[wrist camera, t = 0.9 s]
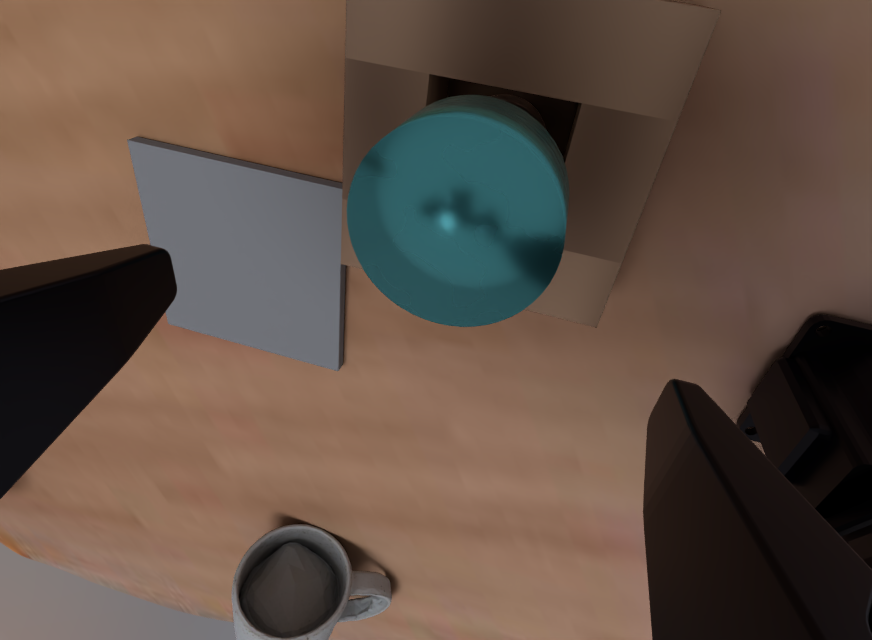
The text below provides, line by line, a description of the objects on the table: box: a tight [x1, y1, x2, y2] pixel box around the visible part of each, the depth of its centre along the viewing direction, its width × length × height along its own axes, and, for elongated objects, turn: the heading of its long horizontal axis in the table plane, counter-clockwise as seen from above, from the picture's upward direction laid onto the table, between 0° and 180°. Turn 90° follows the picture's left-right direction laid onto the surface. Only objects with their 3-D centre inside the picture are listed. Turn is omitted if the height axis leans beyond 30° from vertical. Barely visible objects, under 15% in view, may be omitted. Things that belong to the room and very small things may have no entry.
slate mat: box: [127, 137, 346, 371], centre depth 24 cm, size 10×10×1 cm
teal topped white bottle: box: [347, 94, 570, 327], centre depth 15 cm, size 5×5×8 cm
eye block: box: [341, 0, 721, 328], centre depth 17 cm, size 10×10×3 cm
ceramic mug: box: [232, 524, 392, 640], centre depth 36 cm, size 11×8×8 cm
